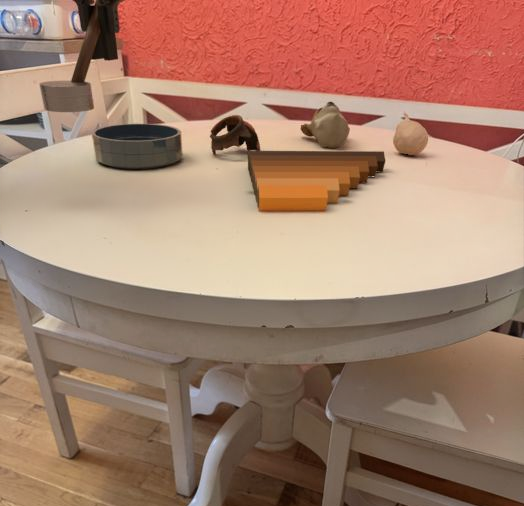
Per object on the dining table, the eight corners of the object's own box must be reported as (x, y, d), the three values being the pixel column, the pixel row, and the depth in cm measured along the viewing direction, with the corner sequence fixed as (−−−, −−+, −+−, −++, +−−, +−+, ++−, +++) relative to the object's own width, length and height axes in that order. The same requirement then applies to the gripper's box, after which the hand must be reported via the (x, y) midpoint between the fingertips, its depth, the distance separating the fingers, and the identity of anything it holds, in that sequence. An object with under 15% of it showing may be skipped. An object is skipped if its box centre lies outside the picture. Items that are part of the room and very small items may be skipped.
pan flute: (378, 167, 95) (247, 167, 93) (381, 149, 93) (247, 148, 91) (424, 211, 75) (259, 212, 73) (429, 188, 73) (259, 188, 71)
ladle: (77, 113, 64) (54, -25, 56) (34, 110, 66) (5, -26, 57) (139, 96, 78) (128, -17, 70) (102, 93, 80) (87, -18, 72)
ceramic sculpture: (312, 103, 101) (300, 98, 114) (309, 149, 105) (297, 139, 118) (363, 105, 102) (345, 99, 115) (358, 150, 106) (341, 139, 119)
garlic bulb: (418, 151, 108) (426, 111, 103) (427, 159, 102) (436, 116, 98) (388, 151, 107) (395, 110, 103) (396, 158, 102) (403, 115, 98)
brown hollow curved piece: (267, 162, 98) (249, 125, 92) (224, 182, 101) (204, 147, 95) (260, 133, 106) (244, 97, 100) (221, 153, 108) (202, 118, 102)
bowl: (79, 166, 91) (74, 136, 88) (121, 147, 104) (118, 121, 101) (162, 174, 88) (159, 144, 85) (194, 153, 101) (193, 127, 98)
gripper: (144, -161, 61) (161, 60, 75) (40, -157, 64) (74, 55, 78) (114, -180, 55) (138, 64, 69) (1, -175, 58) (45, 58, 72)
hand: (104, 59), depth 73 cm, fingers closed on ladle, 2 cm apart
